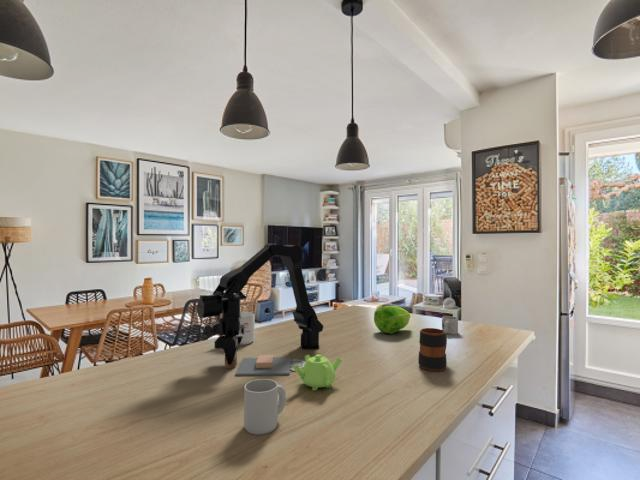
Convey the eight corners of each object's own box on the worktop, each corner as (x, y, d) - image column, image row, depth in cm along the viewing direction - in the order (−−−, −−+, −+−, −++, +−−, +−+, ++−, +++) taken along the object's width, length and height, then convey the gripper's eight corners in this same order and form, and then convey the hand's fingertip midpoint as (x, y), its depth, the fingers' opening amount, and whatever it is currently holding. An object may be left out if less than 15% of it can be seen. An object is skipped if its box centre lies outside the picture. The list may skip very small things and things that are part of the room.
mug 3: (444, 330, 160) (444, 315, 160) (459, 332, 156) (459, 317, 156) (437, 334, 152) (437, 319, 152) (453, 337, 148) (453, 321, 148)
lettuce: (421, 331, 157) (421, 304, 157) (390, 338, 146) (390, 309, 146) (398, 325, 168) (398, 300, 168) (367, 331, 157) (367, 304, 157)
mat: (290, 359, 120) (290, 357, 120) (289, 374, 106) (289, 372, 106) (243, 359, 119) (243, 357, 119) (235, 375, 105) (235, 373, 105)
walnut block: (236, 364, 115) (236, 346, 115) (234, 368, 111) (235, 349, 111) (226, 364, 114) (226, 346, 114) (224, 368, 111) (224, 349, 111)
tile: (274, 355, 117) (272, 362, 110) (273, 360, 117) (272, 368, 110) (258, 355, 116) (256, 362, 109) (258, 360, 116) (255, 368, 109)
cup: (238, 425, 77) (238, 384, 77) (276, 411, 84) (276, 373, 84) (254, 439, 72) (254, 395, 72) (294, 423, 78) (294, 383, 78)
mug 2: (457, 365, 115) (457, 329, 115) (436, 374, 107) (436, 335, 107) (434, 358, 121) (434, 324, 121) (412, 366, 114) (413, 330, 114)
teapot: (331, 396, 91) (331, 364, 91) (290, 390, 95) (291, 359, 95) (342, 380, 102) (342, 351, 102) (305, 375, 106) (305, 347, 106)
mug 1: (250, 337, 146) (250, 311, 146) (257, 343, 138) (257, 315, 138) (221, 341, 140) (221, 313, 140) (226, 347, 132) (227, 318, 132)
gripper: (213, 308, 122) (212, 353, 122) (196, 320, 103) (196, 373, 103) (245, 308, 122) (245, 352, 122) (235, 320, 104) (235, 373, 104)
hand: (230, 362), depth 113 cm, fingers closed on walnut block, 3 cm apart
